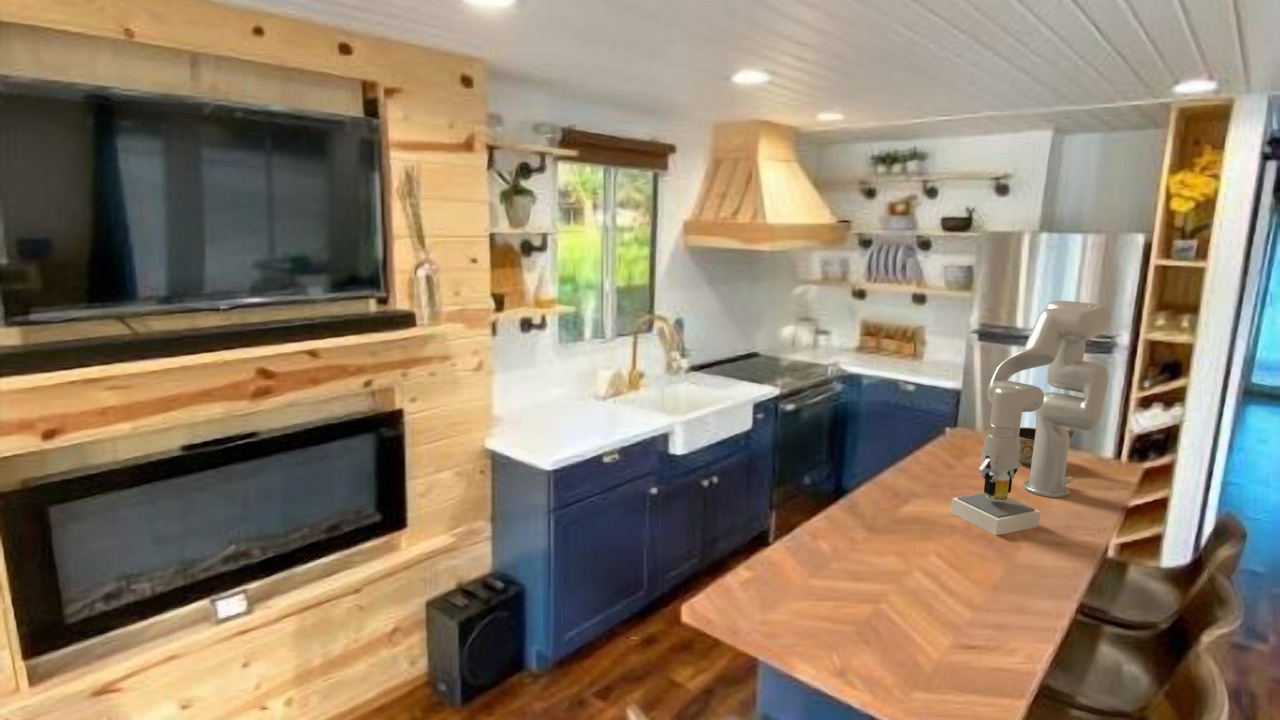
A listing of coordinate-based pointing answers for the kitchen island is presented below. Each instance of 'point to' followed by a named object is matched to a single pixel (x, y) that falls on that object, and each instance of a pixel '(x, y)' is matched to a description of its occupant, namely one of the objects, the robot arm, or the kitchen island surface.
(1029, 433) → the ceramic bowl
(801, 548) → the kitchen island surface
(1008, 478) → the supplement bottle
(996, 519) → the plate
